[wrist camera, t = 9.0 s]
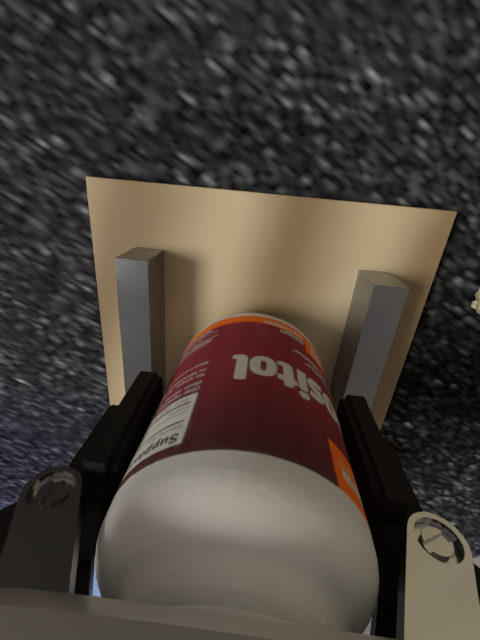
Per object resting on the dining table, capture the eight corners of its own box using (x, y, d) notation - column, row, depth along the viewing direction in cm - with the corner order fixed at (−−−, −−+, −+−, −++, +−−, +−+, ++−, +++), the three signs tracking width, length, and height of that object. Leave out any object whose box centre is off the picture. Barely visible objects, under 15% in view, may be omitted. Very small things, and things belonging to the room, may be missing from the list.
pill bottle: (351, 369, 14) (573, 875, 4) (256, 443, 16) (239, 887, 6) (244, 275, 12) (153, 686, 2) (156, 371, 15) (-80, 793, 5)
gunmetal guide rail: (389, 272, 13) (457, 325, 8) (335, 456, 17) (361, 558, 12) (135, 246, 13) (66, 283, 9) (145, 433, 17) (102, 524, 13)
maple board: (448, 210, 12) (457, 211, 12) (356, 480, 18) (359, 490, 18) (93, 176, 13) (85, 176, 12) (120, 451, 19) (115, 460, 18)
